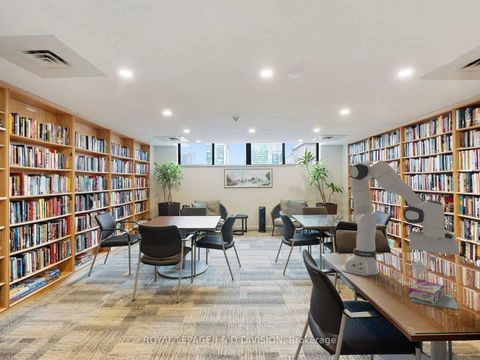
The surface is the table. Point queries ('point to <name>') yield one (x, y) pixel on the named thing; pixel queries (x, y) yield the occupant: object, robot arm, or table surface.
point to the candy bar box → (426, 291)
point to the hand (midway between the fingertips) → (432, 260)
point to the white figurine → (419, 269)
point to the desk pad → (441, 302)
